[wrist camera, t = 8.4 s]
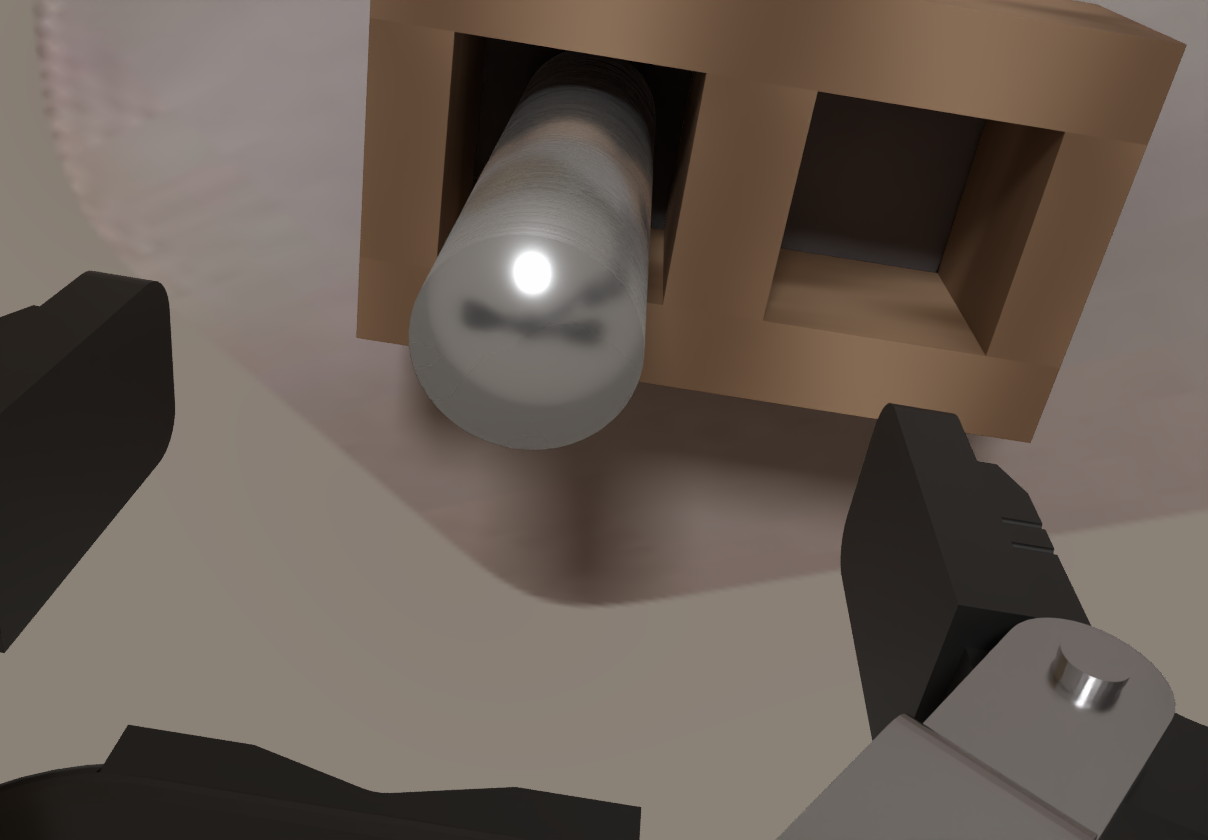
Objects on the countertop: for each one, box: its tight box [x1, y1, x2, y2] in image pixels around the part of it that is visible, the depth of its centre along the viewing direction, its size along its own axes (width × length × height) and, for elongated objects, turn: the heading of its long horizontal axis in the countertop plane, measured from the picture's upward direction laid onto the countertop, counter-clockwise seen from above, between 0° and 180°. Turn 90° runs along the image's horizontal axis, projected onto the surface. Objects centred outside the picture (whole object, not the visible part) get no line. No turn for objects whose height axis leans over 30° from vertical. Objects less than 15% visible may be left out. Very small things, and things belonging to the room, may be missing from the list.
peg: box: [409, 51, 656, 450], centre depth 19 cm, size 3×3×12 cm
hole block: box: [356, 0, 1186, 443], centre depth 23 cm, size 14×8×4 cm, turn 82°
